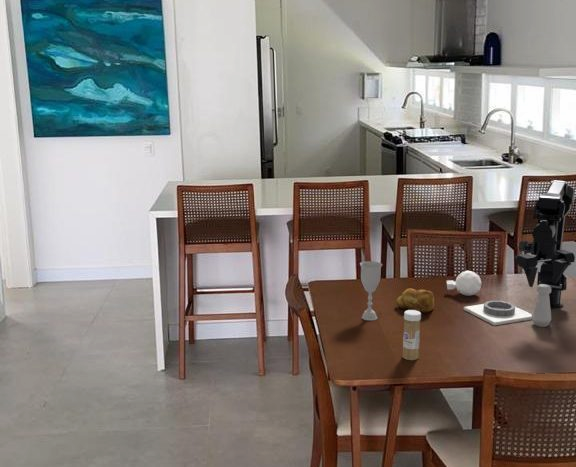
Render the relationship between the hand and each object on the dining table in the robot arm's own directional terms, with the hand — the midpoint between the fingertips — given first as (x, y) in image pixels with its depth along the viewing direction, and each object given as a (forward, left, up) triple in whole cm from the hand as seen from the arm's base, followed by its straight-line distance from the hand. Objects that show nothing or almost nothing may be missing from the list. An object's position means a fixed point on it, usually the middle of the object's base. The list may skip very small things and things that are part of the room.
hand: (542, 285), depth 224 cm
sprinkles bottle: (+52, +7, -13) cm, 54 cm away
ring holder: (+6, -13, -13) cm, 19 cm away
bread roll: (+28, -28, -13) cm, 42 cm away
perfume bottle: (+4, -35, -13) cm, 37 cm away
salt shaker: (0, 0, -13) cm, 13 cm away
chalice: (+47, -26, -13) cm, 55 cm away
